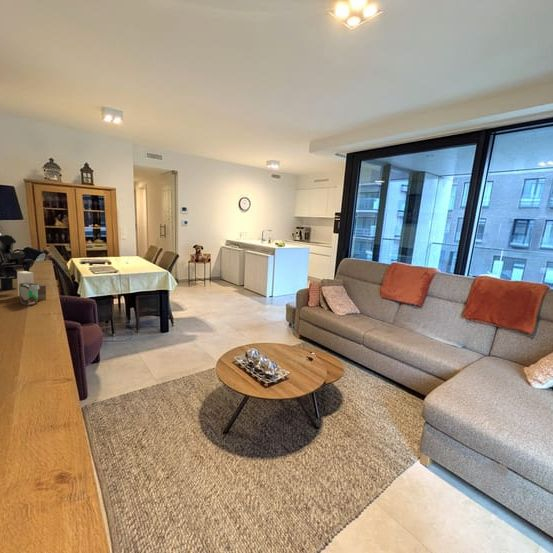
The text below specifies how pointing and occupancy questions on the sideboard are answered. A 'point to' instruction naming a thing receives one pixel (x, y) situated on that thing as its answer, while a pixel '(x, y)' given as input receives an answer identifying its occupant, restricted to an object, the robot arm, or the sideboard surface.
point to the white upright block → (24, 278)
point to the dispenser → (39, 292)
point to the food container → (29, 293)
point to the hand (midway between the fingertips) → (18, 277)
